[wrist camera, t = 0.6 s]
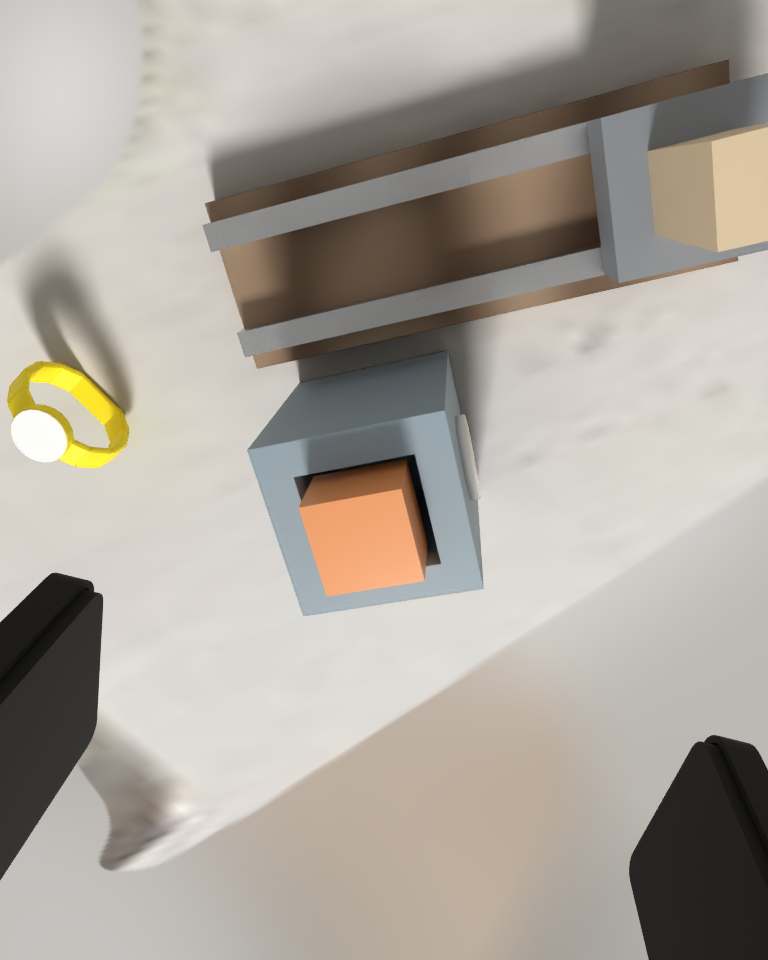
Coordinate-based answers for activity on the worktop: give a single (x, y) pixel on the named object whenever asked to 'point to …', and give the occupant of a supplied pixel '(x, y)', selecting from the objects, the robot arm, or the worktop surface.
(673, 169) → the carriage
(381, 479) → the button
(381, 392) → the end cabinet
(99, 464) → the watch
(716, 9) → the worktop surface
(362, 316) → the rail board
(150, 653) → the worktop surface
